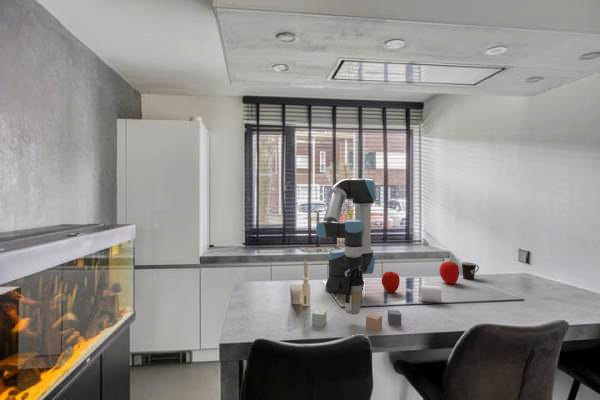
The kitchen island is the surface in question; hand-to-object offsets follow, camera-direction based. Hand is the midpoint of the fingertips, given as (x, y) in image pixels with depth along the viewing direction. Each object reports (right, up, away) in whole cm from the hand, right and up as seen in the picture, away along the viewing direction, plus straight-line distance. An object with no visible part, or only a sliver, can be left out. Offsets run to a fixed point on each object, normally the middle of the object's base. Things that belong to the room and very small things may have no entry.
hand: (353, 306), depth 151 cm
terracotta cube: (+8, -7, -6) cm, 12 cm away
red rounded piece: (+28, -6, +46) cm, 54 cm away
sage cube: (-15, -7, -2) cm, 17 cm away
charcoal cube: (+18, -7, -1) cm, 19 cm away
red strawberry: (+71, -6, +67) cm, 97 cm away
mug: (+46, -7, +32) cm, 56 cm away
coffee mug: (+91, -6, +78) cm, 120 cm away
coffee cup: (0, -2, 0) cm, 3 cm away
